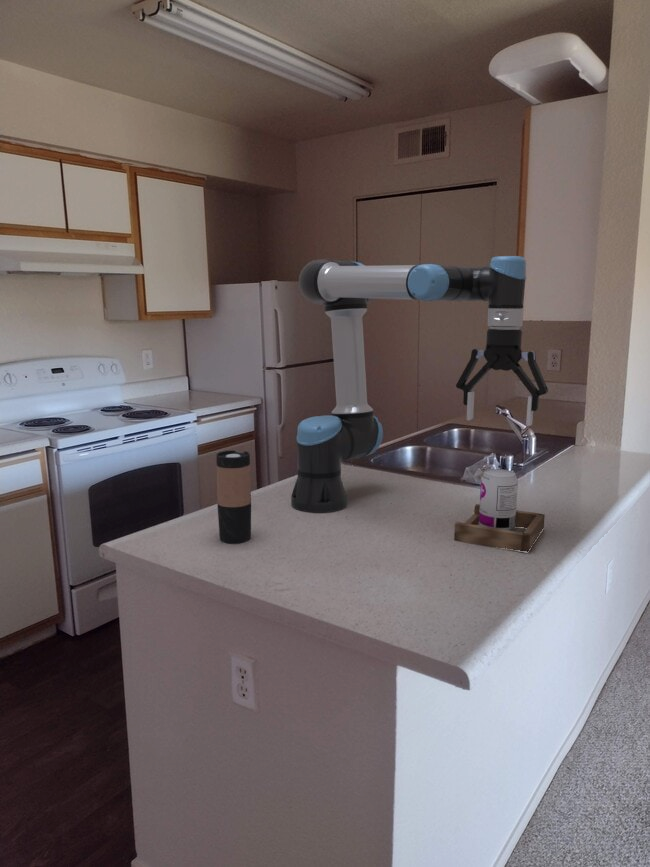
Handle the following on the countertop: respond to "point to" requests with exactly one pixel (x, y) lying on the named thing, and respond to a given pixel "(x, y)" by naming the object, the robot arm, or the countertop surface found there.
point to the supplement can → (498, 499)
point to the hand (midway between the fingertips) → (498, 422)
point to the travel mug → (234, 496)
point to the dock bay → (501, 531)
